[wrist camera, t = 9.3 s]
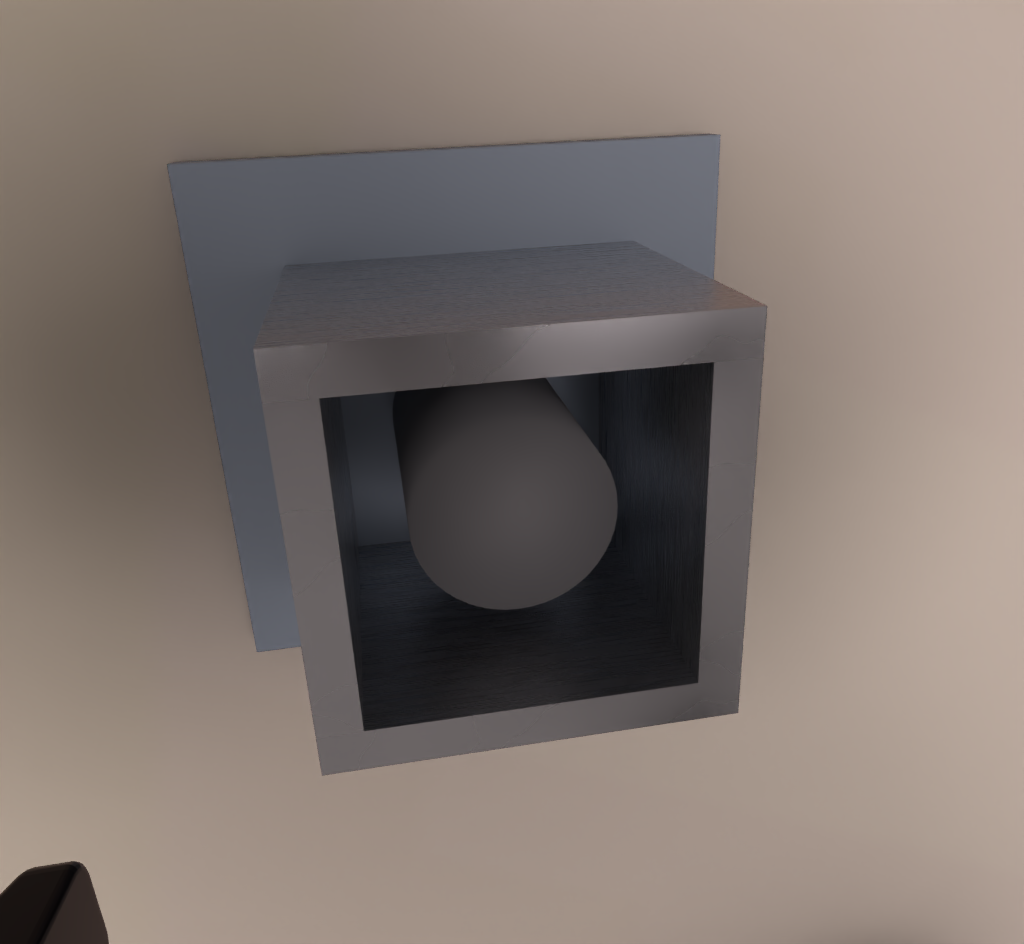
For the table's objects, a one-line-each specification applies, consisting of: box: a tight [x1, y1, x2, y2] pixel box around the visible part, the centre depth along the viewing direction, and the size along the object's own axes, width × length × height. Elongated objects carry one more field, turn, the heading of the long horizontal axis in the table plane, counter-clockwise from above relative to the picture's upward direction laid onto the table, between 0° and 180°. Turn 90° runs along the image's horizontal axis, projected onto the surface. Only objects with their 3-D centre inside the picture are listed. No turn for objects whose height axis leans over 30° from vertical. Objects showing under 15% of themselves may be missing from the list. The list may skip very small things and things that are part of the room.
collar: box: [253, 241, 767, 775], centre depth 15 cm, size 7×7×6 cm
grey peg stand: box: [167, 134, 720, 652], centre depth 16 cm, size 10×10×6 cm
